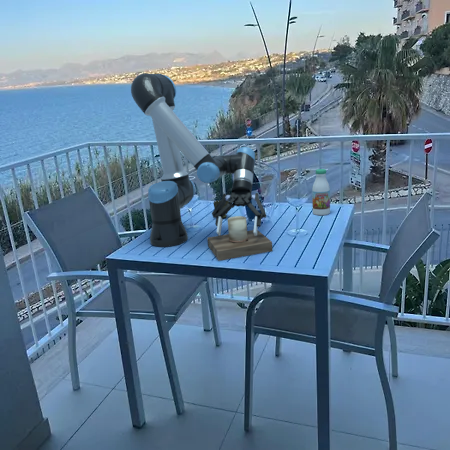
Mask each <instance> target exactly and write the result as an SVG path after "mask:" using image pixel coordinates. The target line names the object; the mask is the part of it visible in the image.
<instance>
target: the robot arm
mask: <svg viewBox="0 0 450 450" xmlns="http://www.w3.org/2000/svg"><path fill="white" fill-rule="evenodd" d="M130 93H131V94H130V95H131V97H132V99H133V101H134V103H135V104H136V106H137V107H138V108H139V109H140V110H141V111H142V113H144V115H145V116H149V117H150V118H151V120H152V125H153V130H154V134H155V139H156V143H157V149H158V153H159V154H158V155H159V158H160V163H161V167H162V172H163V174H162V175H161V177H160V179H161V181H159V182H155V183H153V184H151V185H150V186H149V188H148V189H147V193H148V195H147V199H148V203H149V209H150V216H151V222H152V225H151V230H150V231H151V232H150V236H149V239H150V245H152V246H153V247H159V248H163V247H164V248H166V247H167V248H168V247H172V246H173V247H175V246H179V245H181V244H183V243H186V241H188V240H189V237H188V231H187V230H186V227H185V226H184V223H183V221H182V214H181V208H183V207H185V206H186V205H188V204H189V203H190V202H191V201H192V200H193V198H194V196H195V194H196V187H195V184H194V182H193V181H192V180H191V179H190V176H189V172H187V171H186V170H185V168H184V165H183V159H182V155H183V156H184V157H185V158H186V159H187V161H189V163H190V164H191V165H192V166H193V167H194V168H195V170H196V174H197V178H198V179H199V181H200V182H201V183H204V184H211V183H214V182H216V181H217V180H218V179H219V178H221V177H222V176H223V175H231V174H232V175H233V177H232V178H233V179H232V186H231V193H230V194H226V193H223V194H222V198H221V199H220V202H219V203H218V205H217V206H216V208H214V210H212V212H211V215H212V217H213V219H215V226H216V234H217V236H220V235H222V232H221V231H222V226H223V218H222V217H223V216H224V215H225V214H226V213H227V212H228V213H229V211H230V210H231V209H234V208H235V207H245V206H247V207H248V208H249V210H250V211H252V213H253V215H255V216H254V225H253V230H254V232H253V233H254V235H255V236H257V230H258V228H260V227H261V225H262V224H261V223H262V219H263V218H267V213H266V211H265V208H264V207H263V204H262V202H261V201H260V195H259V193H258V192H256V193H255V194H252V190H253V182H254V173H255V172H254V171H255V164H256V152H255V151H254V149H252V148H251V147H248V146H242V147H240V148H238V149H237V150H236V153H233V154H223V155H211V154H210V153H209V152H208V150H207V149H206V148H205V147H204V146H203V145H202V143H201V142H200V141H199V140H198V139H197V138H196V136H195V135H194V134H193V133H192V132H191V130H190V129H189V128H188V127H187V126H186V125H185V123H184V122H183V121H182V120H181V119H180V118H179V116H178V115H177V114H176V113H175V112H174V110H175V108H176V104H175V98H176V96H177V88H176V84H175V83H174V81H173V79H172V78H170V77H169V76H168V75H165V74H162V73H149V72H148V73H141V74H138V75H136V77H134V79H133V80H132V83H131V86H130ZM228 200H229V203H228V204H227V205H226V206H225V207H224V205H225V204H226V201H228ZM252 200H254V202H255V201H256V205H257V207H258V209H259V210H257V208H256V207H255V206H254V205H253V204H252V202H251V201H252ZM223 207H224V208H223ZM222 208H223V209H222ZM221 209H222V210H221ZM259 211H260V212H259ZM228 213H227V214H228ZM227 214H226V215H227Z"/></svg>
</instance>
